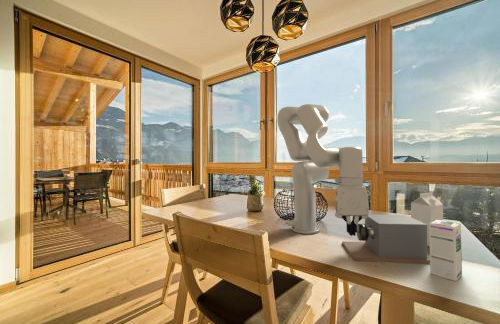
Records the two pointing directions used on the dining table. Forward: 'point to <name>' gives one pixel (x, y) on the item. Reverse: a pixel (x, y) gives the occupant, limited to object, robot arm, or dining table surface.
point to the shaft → (364, 232)
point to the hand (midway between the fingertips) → (351, 234)
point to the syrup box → (445, 249)
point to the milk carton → (427, 210)
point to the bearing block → (392, 240)
